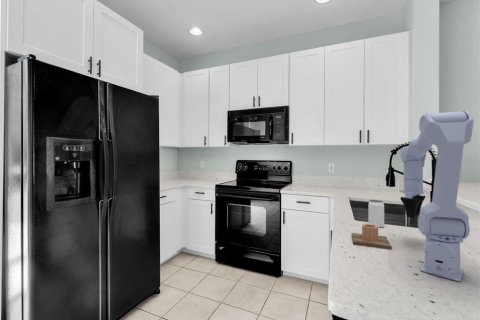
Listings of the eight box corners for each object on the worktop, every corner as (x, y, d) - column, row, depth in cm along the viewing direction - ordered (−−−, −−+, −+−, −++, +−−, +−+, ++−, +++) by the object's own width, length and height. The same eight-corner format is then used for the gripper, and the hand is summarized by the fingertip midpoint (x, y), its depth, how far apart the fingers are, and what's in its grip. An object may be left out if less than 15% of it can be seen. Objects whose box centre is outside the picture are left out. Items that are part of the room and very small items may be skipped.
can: (376, 228, 105) (376, 202, 105) (365, 224, 111) (365, 200, 111) (387, 227, 106) (387, 201, 107) (376, 223, 113) (375, 199, 113)
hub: (375, 242, 83) (375, 228, 83) (360, 239, 87) (360, 225, 87) (379, 239, 87) (379, 226, 87) (365, 236, 91) (365, 223, 91)
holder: (391, 249, 79) (391, 235, 79) (353, 244, 84) (353, 230, 84) (385, 239, 90) (385, 226, 90) (351, 235, 95) (351, 223, 95)
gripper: (405, 177, 93) (405, 211, 93) (394, 179, 83) (395, 216, 83) (427, 178, 88) (427, 214, 87) (419, 180, 78) (419, 220, 78)
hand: (413, 215), depth 85 cm, fingers open, 7 cm apart
